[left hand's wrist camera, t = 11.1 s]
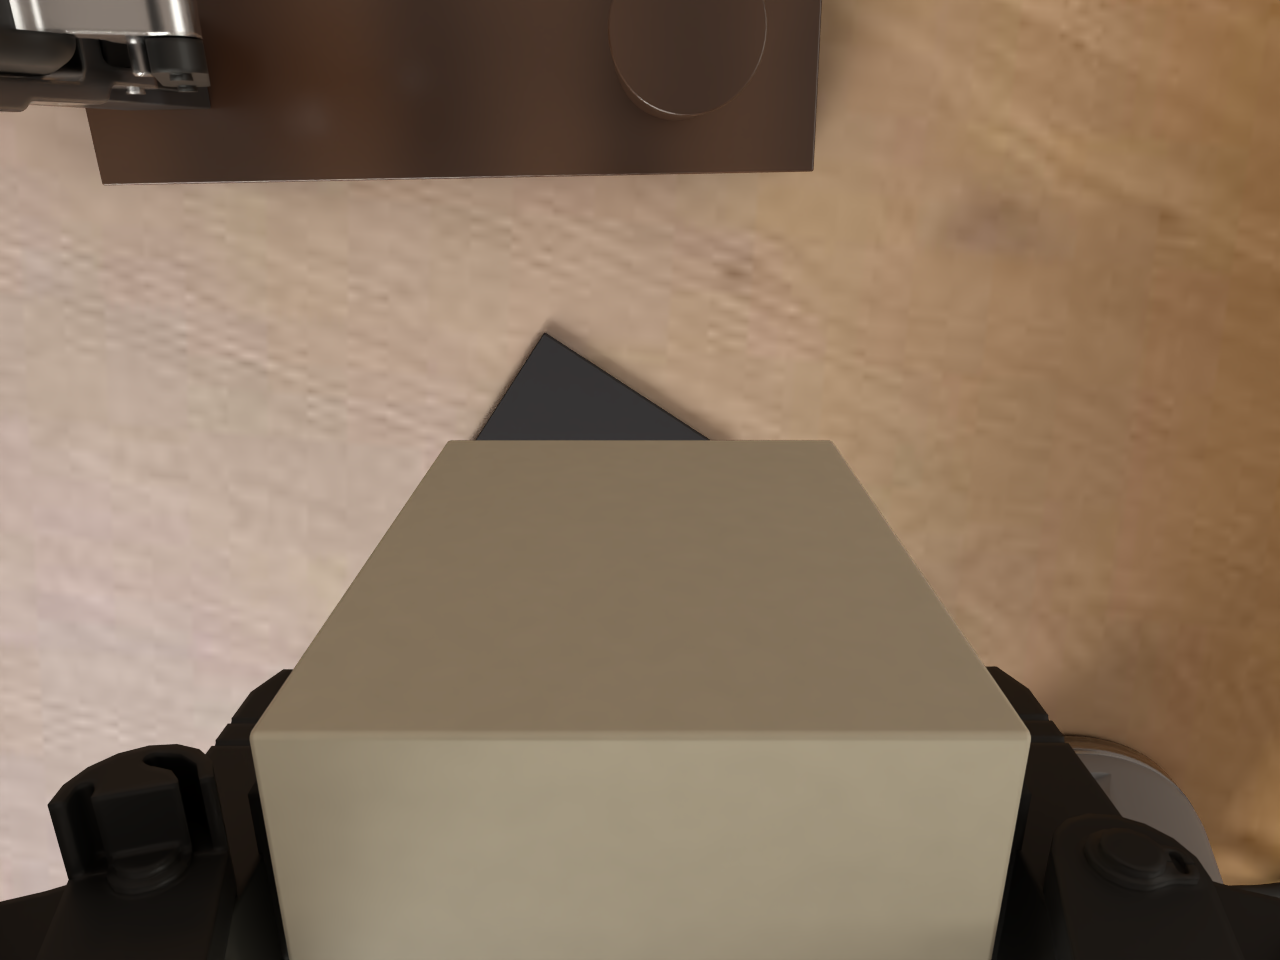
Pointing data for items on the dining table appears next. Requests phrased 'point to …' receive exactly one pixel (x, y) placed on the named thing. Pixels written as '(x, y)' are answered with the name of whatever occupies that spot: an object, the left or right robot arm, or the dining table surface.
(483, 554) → the cap block
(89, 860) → the left robot arm
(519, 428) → the rubber mat
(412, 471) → the dining table surface
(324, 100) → the walnut stand
